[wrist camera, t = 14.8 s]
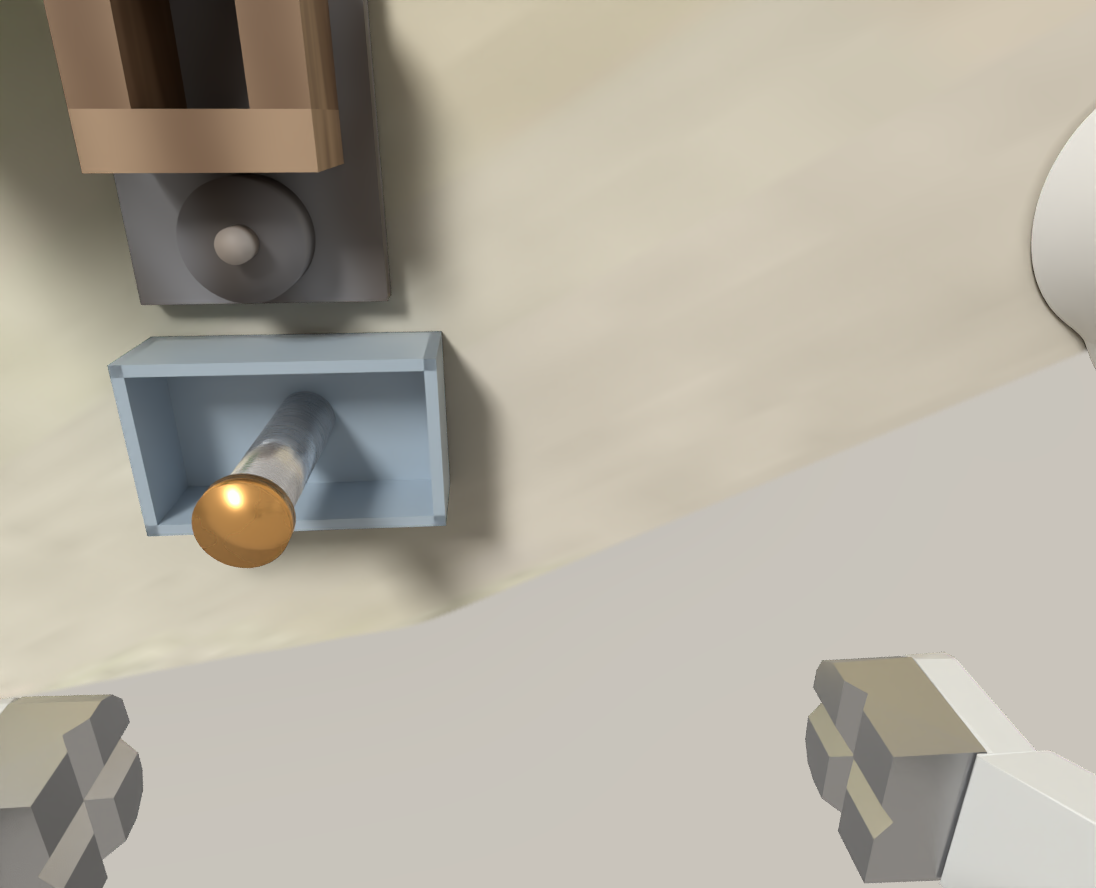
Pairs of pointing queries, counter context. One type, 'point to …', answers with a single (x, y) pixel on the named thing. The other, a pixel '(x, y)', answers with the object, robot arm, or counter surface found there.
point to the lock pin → (264, 486)
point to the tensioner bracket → (232, 143)
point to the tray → (254, 396)
